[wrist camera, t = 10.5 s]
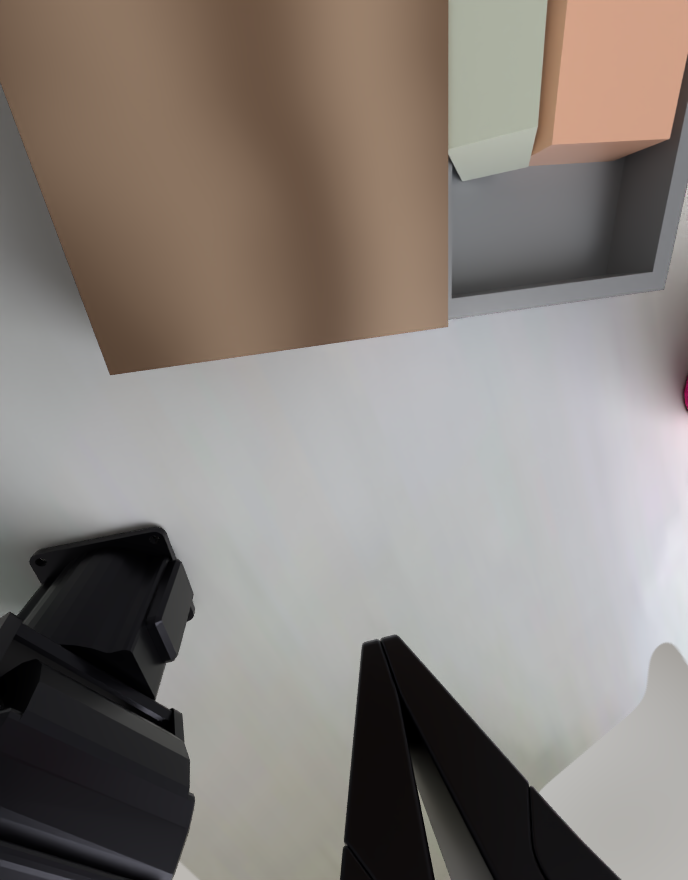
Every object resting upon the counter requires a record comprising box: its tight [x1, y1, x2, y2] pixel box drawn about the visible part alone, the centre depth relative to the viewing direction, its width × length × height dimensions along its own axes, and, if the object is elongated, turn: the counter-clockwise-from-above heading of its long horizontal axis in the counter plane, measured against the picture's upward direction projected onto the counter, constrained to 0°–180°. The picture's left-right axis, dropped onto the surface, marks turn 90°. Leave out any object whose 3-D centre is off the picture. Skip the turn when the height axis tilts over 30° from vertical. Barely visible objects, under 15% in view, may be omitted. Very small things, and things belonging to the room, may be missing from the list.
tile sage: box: [448, 0, 548, 181], centre depth 12 cm, size 5×5×2 cm
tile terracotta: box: [529, 0, 688, 166], centre depth 14 cm, size 5×5×2 cm
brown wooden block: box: [0, 0, 448, 375], centre depth 11 cm, size 12×16×5 cm
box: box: [448, 54, 688, 320], centre depth 14 cm, size 11×16×3 cm
